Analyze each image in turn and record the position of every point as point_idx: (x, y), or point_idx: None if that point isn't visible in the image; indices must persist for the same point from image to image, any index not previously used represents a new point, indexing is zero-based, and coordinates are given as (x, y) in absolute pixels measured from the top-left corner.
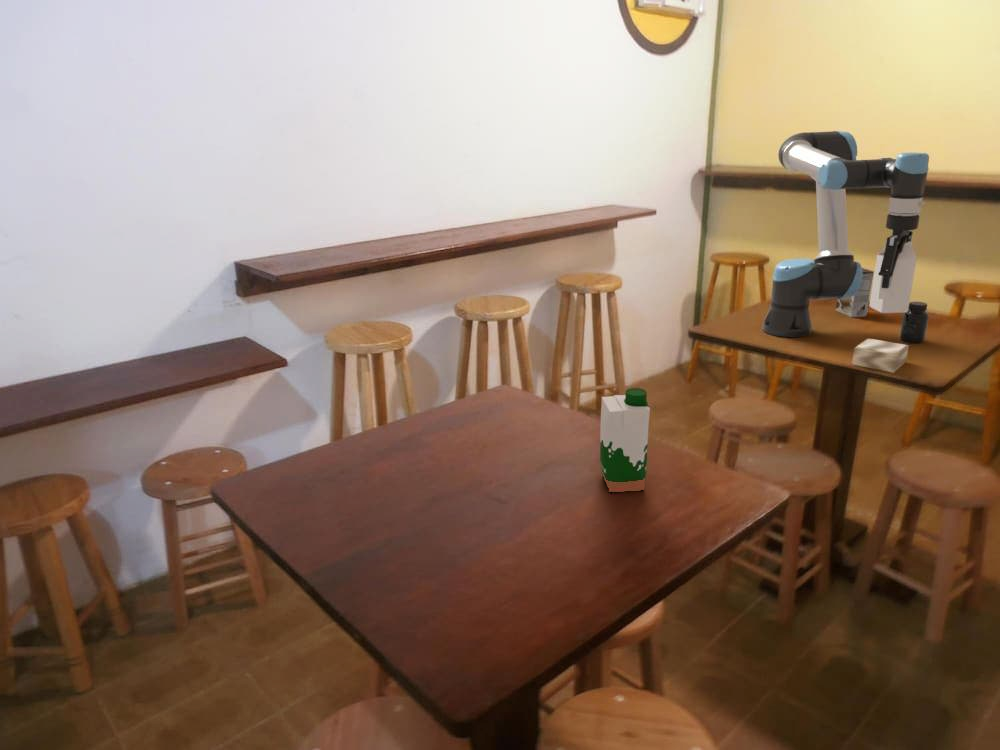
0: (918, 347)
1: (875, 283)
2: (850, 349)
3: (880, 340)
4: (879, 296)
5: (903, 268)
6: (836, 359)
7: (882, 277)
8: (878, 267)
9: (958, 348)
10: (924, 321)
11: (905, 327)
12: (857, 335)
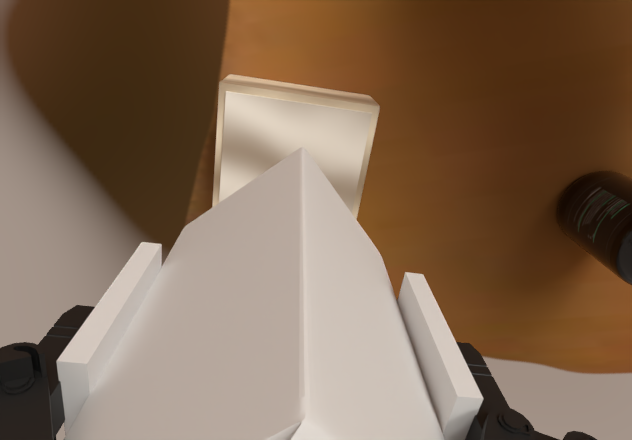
0: (518, 231)
1: (261, 231)
2: (411, 33)
3: (362, 157)
4: (136, 255)
5: None
6: (257, 8)
7: (66, 353)
8: (238, 330)
9: (543, 318)
10: (612, 271)
11: (602, 204)
12: (617, 21)
